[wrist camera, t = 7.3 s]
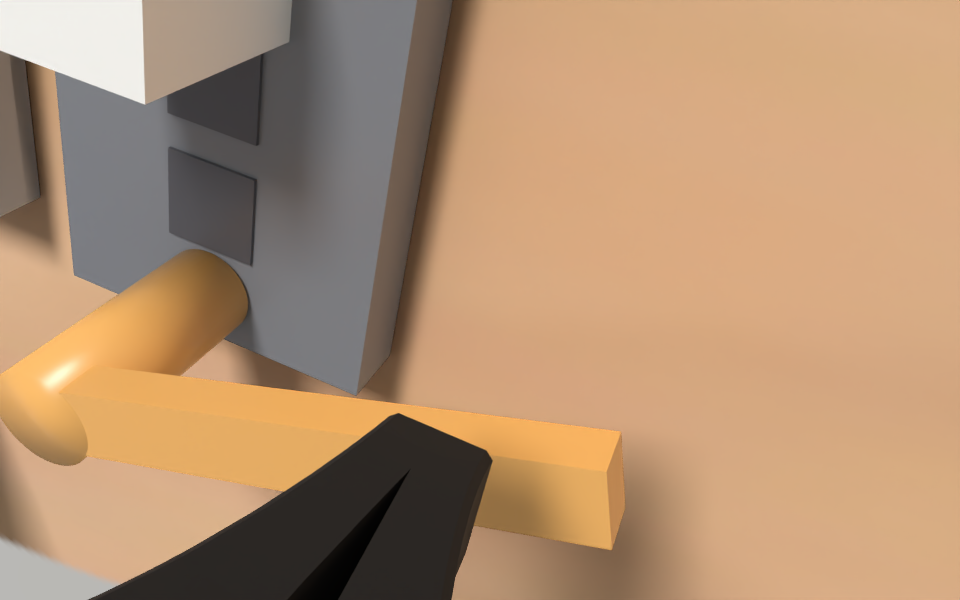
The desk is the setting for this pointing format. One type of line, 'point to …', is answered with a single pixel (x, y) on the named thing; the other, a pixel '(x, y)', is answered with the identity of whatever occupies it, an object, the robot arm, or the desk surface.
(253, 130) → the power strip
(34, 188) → the tray
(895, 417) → the desk surface
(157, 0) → the plug
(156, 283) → the clip
